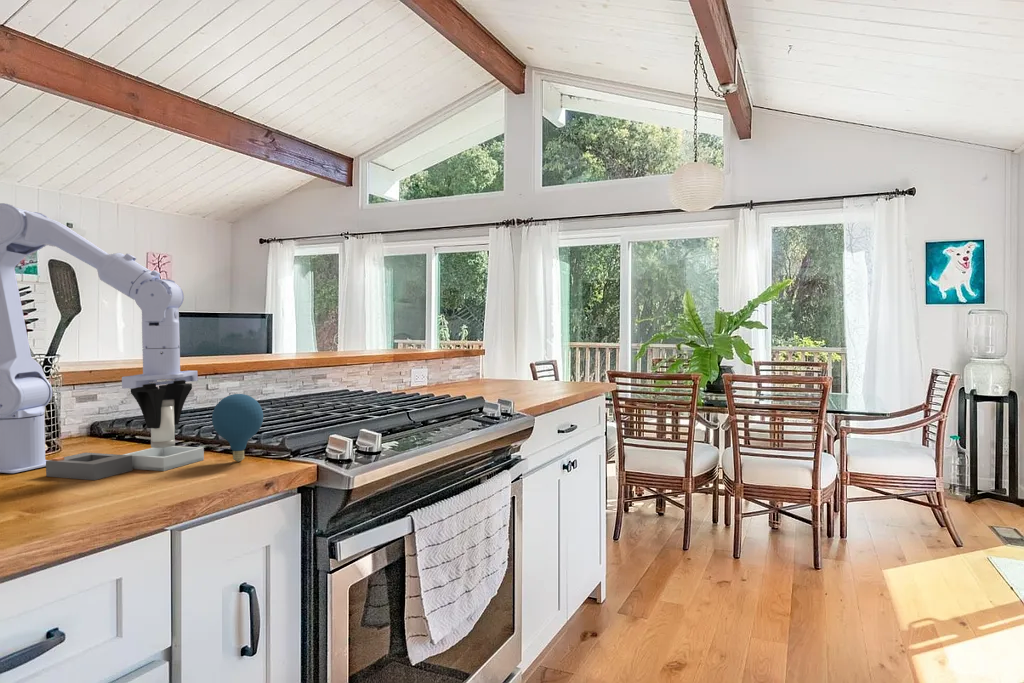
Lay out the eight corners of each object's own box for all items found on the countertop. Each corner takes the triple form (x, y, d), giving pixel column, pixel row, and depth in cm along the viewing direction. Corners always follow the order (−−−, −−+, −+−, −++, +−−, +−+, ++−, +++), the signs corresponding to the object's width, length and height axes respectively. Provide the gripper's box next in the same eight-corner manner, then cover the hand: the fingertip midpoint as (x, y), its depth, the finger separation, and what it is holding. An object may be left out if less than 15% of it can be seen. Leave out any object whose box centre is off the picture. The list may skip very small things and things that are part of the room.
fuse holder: (46, 476, 104) (45, 459, 103) (86, 467, 110) (85, 450, 110) (94, 480, 101) (94, 462, 101) (132, 470, 108) (132, 453, 107)
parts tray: (121, 467, 109) (120, 455, 109) (163, 457, 118) (163, 445, 118) (163, 470, 107) (163, 457, 107) (203, 459, 116) (203, 447, 116)
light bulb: (245, 467, 109) (244, 396, 109) (201, 465, 111) (200, 396, 111) (273, 457, 117) (272, 391, 117) (232, 455, 119) (231, 391, 119)
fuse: (145, 447, 111) (144, 401, 111) (161, 443, 115) (161, 398, 114) (164, 448, 110) (163, 401, 110) (179, 444, 114) (179, 399, 114)
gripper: (145, 350, 104) (147, 433, 104) (210, 346, 118) (212, 420, 118) (110, 349, 106) (112, 432, 106) (179, 346, 120) (180, 419, 120)
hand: (163, 426), depth 112 cm, fingers closed on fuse, 4 cm apart
